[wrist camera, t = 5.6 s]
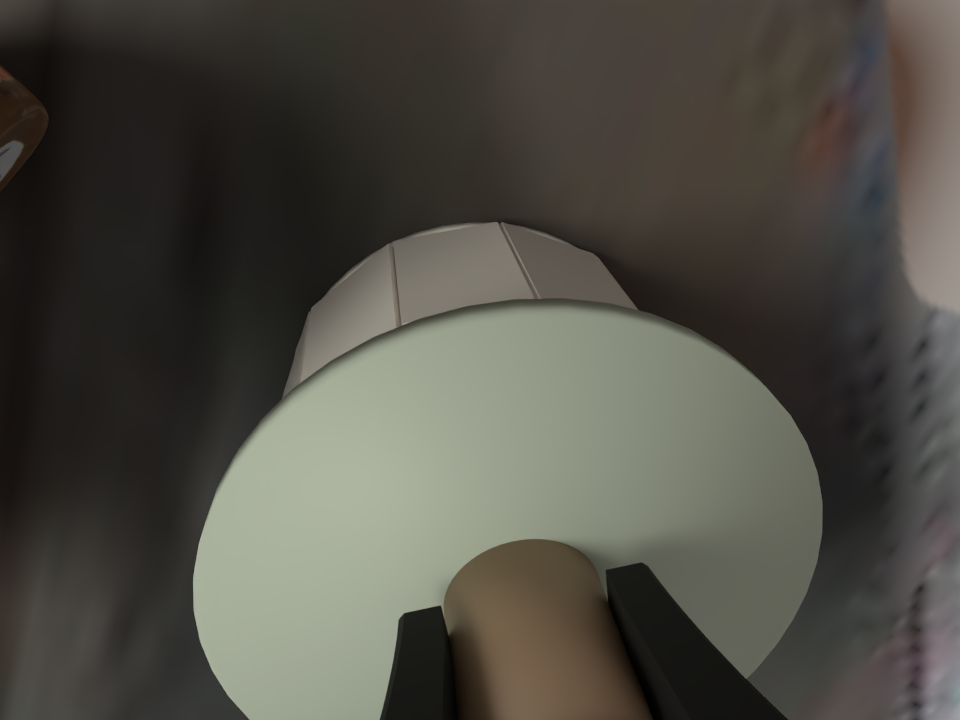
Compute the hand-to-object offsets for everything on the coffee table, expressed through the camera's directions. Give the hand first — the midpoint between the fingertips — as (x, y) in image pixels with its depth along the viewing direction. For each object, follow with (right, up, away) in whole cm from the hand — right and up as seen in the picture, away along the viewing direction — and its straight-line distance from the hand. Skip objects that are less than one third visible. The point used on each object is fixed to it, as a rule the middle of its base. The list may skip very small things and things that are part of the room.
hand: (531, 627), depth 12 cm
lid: (0, +1, +1) cm, 1 cm away
